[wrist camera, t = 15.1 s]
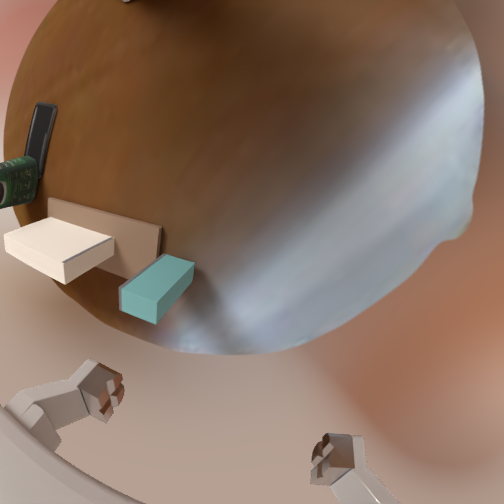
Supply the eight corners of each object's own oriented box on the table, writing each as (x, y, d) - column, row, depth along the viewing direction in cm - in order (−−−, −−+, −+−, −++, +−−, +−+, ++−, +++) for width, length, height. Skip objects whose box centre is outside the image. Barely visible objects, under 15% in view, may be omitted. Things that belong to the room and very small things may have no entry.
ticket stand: (52, 245, 44) (5, 268, 32) (51, 197, 40) (-1, 212, 28) (156, 285, 42) (112, 328, 30) (162, 226, 38) (109, 255, 26)
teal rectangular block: (161, 272, 39) (119, 310, 28) (163, 253, 38) (118, 287, 27) (192, 281, 39) (156, 324, 28) (195, 262, 38) (157, 301, 27)
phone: (21, 171, 39) (36, 101, 34) (25, 170, 40) (40, 101, 35) (39, 180, 39) (56, 104, 34) (43, 179, 40) (60, 105, 35)
